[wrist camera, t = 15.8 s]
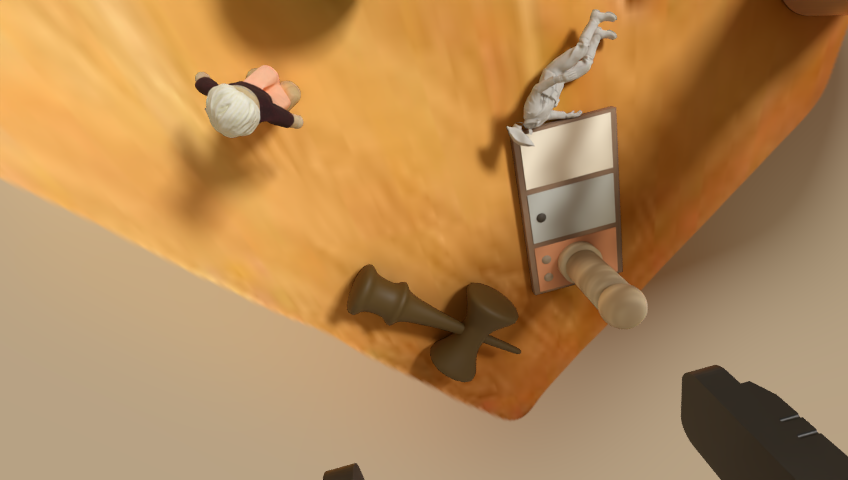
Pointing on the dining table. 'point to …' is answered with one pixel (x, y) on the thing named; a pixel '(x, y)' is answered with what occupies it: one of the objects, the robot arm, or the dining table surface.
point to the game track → (569, 193)
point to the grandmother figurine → (250, 102)
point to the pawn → (603, 285)
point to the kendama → (438, 319)
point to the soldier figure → (561, 78)
